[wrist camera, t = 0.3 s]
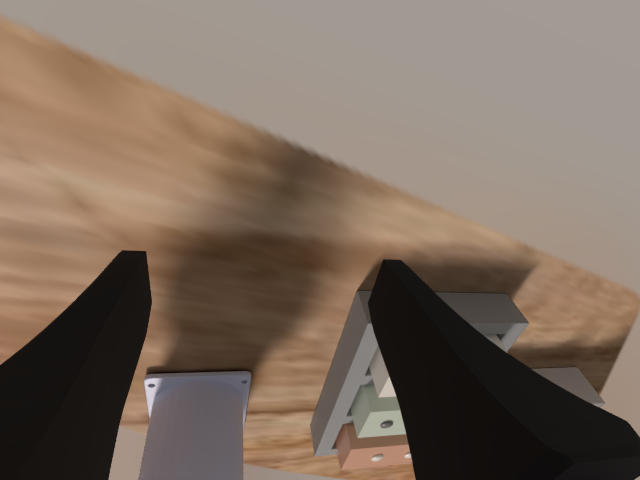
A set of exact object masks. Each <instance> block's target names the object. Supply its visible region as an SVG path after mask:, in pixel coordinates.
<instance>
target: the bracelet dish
mask: <svg viewBox="0 0 640 480" xmlns="http://www.w3.org/2000/svg"><path fill="white" fill-rule="evenodd" d="M532 370H534V371H535V372H537V373H538V374H540V375H541V376H543V377H545V378H546V379H548V380H550V381H551V382H553V383H555V384H556V385H558V386H560V387H562V388H564V389H565V390H567V391H569V392H571V393H572V394H574V395H576V396H578V397H580V398H581V399H583V400H585V401H587V402H589V403H591V404H593V405H595V406H597V407H599V408H600V407H601V406H602V405H604V404H605V402H604V401H603V400H602V398H601V397H600V396H599V394H598V393H597V392H596V391H595V389H594V388H593V387H592V385H591V384H590V383H589V382H588V380H587V379H586V378H585V377H584V375H583V374H582V373H581V371H580V370H579V369H578V368H577V367H565V368H537V369H532Z"/></svg>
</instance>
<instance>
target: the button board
mask: <svg viewBox="0 0 640 480" xmlns="http://www.w3.org/2000/svg"><path fill="white" fill-rule="evenodd" d="M371 293H372V291H357V292H356V295H355V298H354V301H353V304H352V307H351V310H350V312H349V315H348V318H347V321H346V324H345V327H344V330H343V332H342V335H341V338H340V341H339V344H338V347H337V350H336V353H335V355H334V358H333V361H332V364H331V367H330V370H329V373H328V375H327V378H326V381H325V384H324V387H323V390H322V393H321V395H320V398H319V401H318V404H317V407H316V410H315V413H314V416H313V418H312V421H311V424H310V427H311V434H312V441H313V448H314V456H324V455H335V454H338V453H337V448H336V442H335V440H336V438H337V436H338V433H339V431H340V429H341V427H342V425H343V424H346V423H354V422H353V417H352V413H351V409H350V407H351V405H352V402H353V400H354V398H355V396H356V393H357V391H358V389H359V387H360V385H366V384H374V382H373V378H372V375H371V372H370V368H369V364H370V362H371V360H372V358H373V356H374V353H375V351H376V349H377V347H378V343H377V340H376V337H375V334H374V331H373V327H372V323H371V318H370V313H369V308H368V301H369V298H370V295H371ZM435 293H436V294H437V295H438V296H439V297H440V298H441V299H442V300H443V301H444V302H445V303H446V304H448V305H449V306H450V307H451V308H452V309H453V310H454V311H455V312H456V313H457V314H459V315H460V316H461V317H462V318H463V319H464V320H466V321H467V322H468V323H469V324H470V325H471V326H473V327H474V328H475V329H476V330H477V331H479V332H480V333H481V334H496V335H497V337H498V338H499V340H500V341H501V343H502V344H503V346H504V347H505V349H506V351H508V350H509V349H510V347H511V346H512V345H513V343H514V342H515V341H516V340H517V338H518V337H519V336H520V335H521V333H522V332H523V331H524V329H525V328H526V327H527V326H528V324H529V322H528V321H527V320H526V318H525V317H524V316H523V314H522V313H521V312H520V310H519V309H518V308H517V306H516V305H515V304H514V302H513V301H512V300H511V298H510V297H509V296H508V294H496V293H449V292H435Z"/></svg>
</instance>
